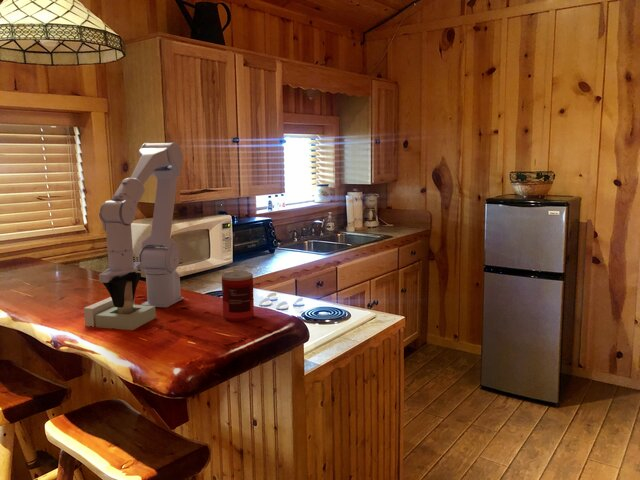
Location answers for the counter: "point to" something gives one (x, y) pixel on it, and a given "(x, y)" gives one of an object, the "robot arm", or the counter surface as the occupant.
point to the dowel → (127, 300)
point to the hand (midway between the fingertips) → (124, 304)
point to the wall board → (97, 310)
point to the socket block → (125, 318)
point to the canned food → (237, 296)
